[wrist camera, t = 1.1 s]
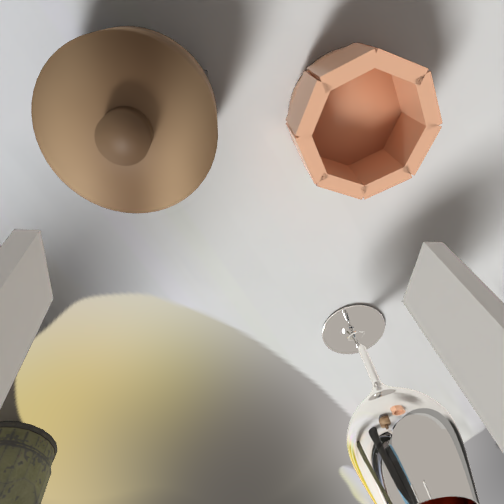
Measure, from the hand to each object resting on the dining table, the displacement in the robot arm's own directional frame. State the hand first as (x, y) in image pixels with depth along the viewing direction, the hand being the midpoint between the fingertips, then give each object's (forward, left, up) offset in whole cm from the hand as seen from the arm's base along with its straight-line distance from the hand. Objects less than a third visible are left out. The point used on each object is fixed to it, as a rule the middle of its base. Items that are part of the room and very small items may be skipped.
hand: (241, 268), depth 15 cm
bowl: (+8, +4, -19) cm, 21 cm away
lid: (-6, 0, -16) cm, 17 cm away
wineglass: (+18, -15, -19) cm, 30 cm away
